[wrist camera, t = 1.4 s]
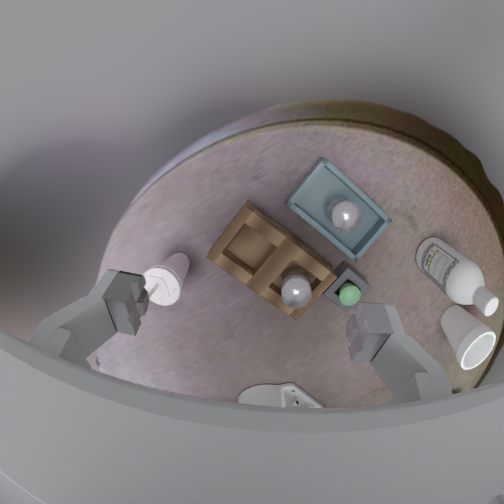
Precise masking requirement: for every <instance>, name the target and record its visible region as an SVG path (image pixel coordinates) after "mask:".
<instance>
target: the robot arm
mask: <svg viewBox="0 0 504 504" xmlns="http://www.w3.org/2000/svg"><path fill="white" fill-rule="evenodd" d="M145 284H146V280H145V276H143V275H140V274H134V273H129V272H124V271H118V270H113V269H109V270H107V271H106V273H105V274H104V276H103V277H102V278H101V280H100V281H99V283H98V284H97V286H96V287H95V289H94V290H93V292H92V293H91V295H90V296H89V295H86V296H84V297H83V298H81V299H79V300H77V301H75V302H73V303H72V304H70V305H68V306H67V307H65V308H63V309H61V310H59V311H58V312H56V313H54V314H52V315H51V316H49V317H47V318H45V319H44V320H42V322H41V324H40V325H39V327H38V328H37V330H36V331H35V333H34V335H33V336H32V338H31V339H30V341H29V343H28V342H26V341H24V340H22V339H20V338H18V337H16V336H14V335H12V334H10V333H8V332H6V331H5V330H3V329H1V328H0V504H504V380H503V381H500V382H497V383H494V384H490V385H487V386H484V387H480V388H476V389H472V390H469V391H465V392H460V393H456V394H452V390H451V387H450V384H449V381H448V378H447V375H446V372H445V369H444V368H443V367H442V366H441V365H440V364H439V363H438V362H437V361H436V360H435V359H434V358H433V357H432V356H431V355H429V354H428V353H427V352H426V351H425V350H424V349H423V348H422V347H421V346H420V345H419V344H418V343H417V342H416V341H415V340H414V339H413V338H412V337H411V336H409V335H408V334H405V332H404V330H403V327H402V324H401V321H400V319H399V316H398V314H397V311H396V308H395V306H394V305H393V304H392V303H374V302H358V303H357V304H356V305H355V307H354V311H355V313H354V314H353V315H351V316H350V318H349V320H348V322H347V327H346V335H347V340H348V341H349V342H350V343H351V345H350V347H349V352H350V357H351V362H370V364H371V365H372V367H373V368H374V369H375V371H376V372H377V373H378V375H379V376H380V377H381V379H382V380H383V381H384V383H385V384H386V385H387V387H388V388H389V390H390V391H391V392H392V394H393V395H394V396H393V397H392V398H391V399H390V400H389V401H388V402H387V403H386V404H385V405H379V406H366V407H348V408H325V407H324V406H322V405H321V404H320V403H319V402H317V401H316V400H315V399H313V398H312V397H311V396H309V395H308V394H307V393H306V392H304V391H303V390H302V389H301V388H299V387H298V386H297V385H296V384H294V383H286V384H281V385H258V386H253V387H251V388H248V389H246V390H245V391H243V392H242V393H241V394H240V396H239V398H238V403H233V402H226V401H219V400H212V399H206V398H200V397H195V396H189V395H184V394H179V393H174V392H170V391H165V390H161V389H157V388H153V387H149V386H145V385H141V384H137V383H133V382H130V381H126V380H123V379H120V378H116V377H113V376H110V375H107V374H104V373H101V372H98V371H95V370H92V368H91V366H90V365H89V363H88V361H87V360H86V357H87V356H89V355H90V354H91V353H92V352H94V351H95V350H96V349H97V348H99V347H100V346H101V345H102V344H103V343H105V342H106V341H107V340H108V339H110V338H111V337H112V336H113V335H115V334H116V333H117V332H121V333H125V334H130V335H135V336H136V334H137V331H138V329H139V327H140V325H141V320H140V317H142V316H143V315H145V313H146V311H147V309H148V304H149V295H148V291H147V290H146V289H145V288H144V286H145Z"/></svg>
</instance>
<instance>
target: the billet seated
mask: <svg viewBox="0 0 504 504" xmlns="http://www.w3.org/2000/svg"><path fill="white" fill-rule="evenodd" d="M281 293H282V300H283V302H284V303H285V304H286V305H287V306H289V307H291V308H301V307H303V306H305V305H307V304H308V303H309V301H310V300H311V297H312V291H311V287H310V283H309V279H308V275H307V272H306V270H305V269H304V268H303V267H301V266H299V265H291V266H288V267H286V268H285V269H284V270H283V272H282V274H281Z"/></svg>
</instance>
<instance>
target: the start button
mask: <svg viewBox="0 0 504 504" xmlns="http://www.w3.org/2000/svg"><path fill="white" fill-rule="evenodd" d="M338 290H339V299H340V301H341V303H342V304H343V305H346V306H351V305H354V304H356V303H357V302H358V301H359V299H360V296H361V293H360V290H359V289H358V287H357V286H355V285H354V284H353V283H352V281H350V280H346V281H345V282H344V283H343V284H342V285H341V286H340V287H339V288H338Z"/></svg>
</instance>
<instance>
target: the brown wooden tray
mask: <svg viewBox="0 0 504 504" xmlns="http://www.w3.org/2000/svg"><path fill="white" fill-rule="evenodd" d="M206 257H207V258H208V259H209V260H211V261H212V262H214V263H215V264H216V265H218V266H219V267H221V268H222V269H223V270H225V271H226V272H228V273H229V274H230V275H232V276H233V277H235V278H236V279H237V280H239V281H240V282H242V283H243V284H245V285H246V286H247V287H249V288H250V289H252V290H253V291H255V292H256V293H257V294H259V295H260V296H262V297H263V298H265V299H266V300H267V301H269V302H270V303H272V304H273V305H275V306H276V307H278V308H279V309H281V310H282V311H284V312H285V313H286V314H288V315H289V316H291V317H292V318H294V319H295V320H296V319H297V318H298V317H299V316H300V315H301V314H302V313H303V312H304V311H305V310H306V309H307V308H308V307H309V306H310V305H311V304H312V303H313V302H314V301H315V300H316V299H317V298H318V297H319V296H320V295H321V294H322V293H323V292H324V291H325V290H326V289H327V288H328V287H329V286H330V285H331V284H332V283H333V282H334V281H335V280H336V278H337V276H336V274H335V271H334V269H333V267H332V266H331V265H330V264H329V263H328V262H326V261H325V260H324V259H323V258H321V257H320V256H319V255H318V254H316V253H315V252H314V251H313V250H311V249H310V248H309V247H308V246H306V245H305V244H304V243H303V242H301V241H300V240H299V239H297V238H296V237H295V236H294V235H292V234H291V233H290V232H289V231H287V230H286V229H285V228H283V227H282V226H281V225H279V224H278V223H277V222H276V221H274V220H273V219H272V218H270V217H269V216H268V215H266V214H265V213H264V212H263V211H261V210H260V209H259V208H257V207H256V206H255V205H253V204H252V203H251V202H249V201H248V200H247V202H246V203H245V204H244V206H243V207H242V208H241V209H240V211H239V212H238V213H237V215H236V216H235V217H234V219H233V220H232V221H231V223H230V224H229V225H228V227H227V228H226V229H225V231H224V232H223V233H222V235H221V236H220V237H219V239H218V240H217V241H216V243H215V244H214V245H213V247H212V248H211V250H210V251H209V253H208V255H207V256H206ZM291 265H299V266H301V267H303V268H304V269H305V270H306V272H307V275H308V279H309V283H310V287H311V291H312V297H311V300H310V301H309V303H308V304H307V305H305V306H303V307H301V308H291V307H289V306H287V305H286V304H285V303H284V302H283V300H282V293H281V274H282V272H283V270H284V269H285V268H286V267H288V266H291Z"/></svg>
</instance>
